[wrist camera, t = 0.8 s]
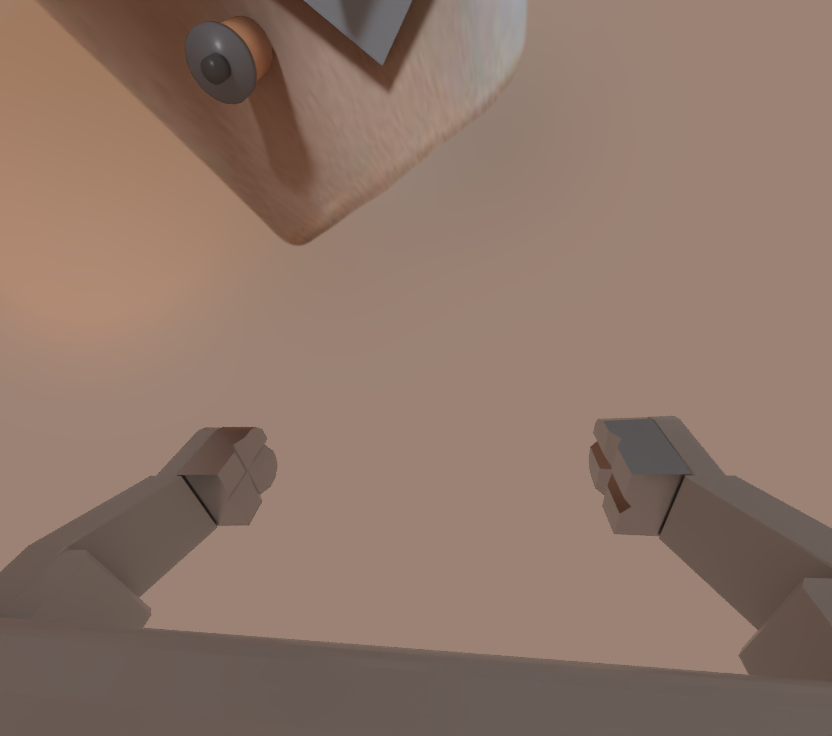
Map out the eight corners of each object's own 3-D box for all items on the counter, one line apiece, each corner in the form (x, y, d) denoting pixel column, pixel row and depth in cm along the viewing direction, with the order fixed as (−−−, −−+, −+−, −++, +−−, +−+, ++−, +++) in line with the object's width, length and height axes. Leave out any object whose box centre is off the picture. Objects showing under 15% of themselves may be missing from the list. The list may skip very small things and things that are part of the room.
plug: (219, 55, 34) (171, 82, 26) (230, -6, 31) (180, 7, 23) (269, 89, 36) (238, 123, 28) (284, 36, 33) (254, 59, 25)
